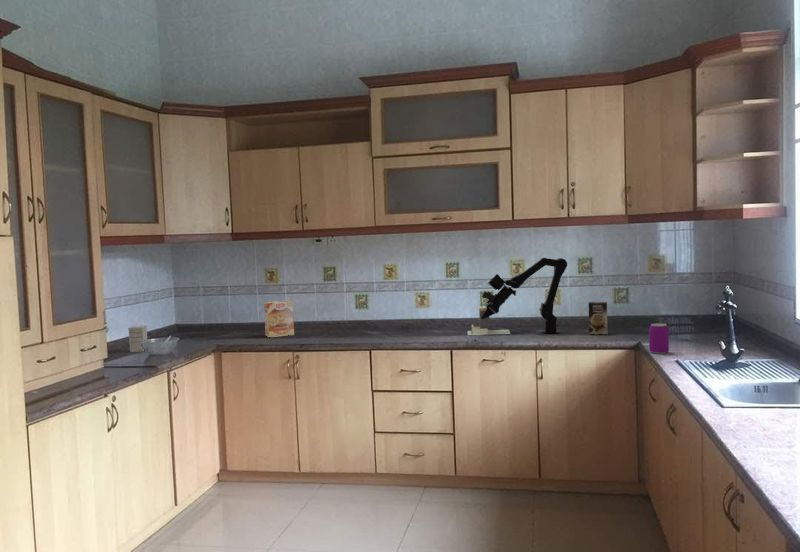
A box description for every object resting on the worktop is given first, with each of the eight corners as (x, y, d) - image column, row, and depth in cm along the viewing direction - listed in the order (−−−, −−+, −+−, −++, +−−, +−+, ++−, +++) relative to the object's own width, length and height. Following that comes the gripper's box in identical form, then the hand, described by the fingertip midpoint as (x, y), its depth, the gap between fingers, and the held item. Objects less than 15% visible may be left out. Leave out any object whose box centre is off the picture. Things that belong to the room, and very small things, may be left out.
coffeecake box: (269, 337, 384) (267, 302, 382) (265, 336, 390) (263, 302, 389) (294, 335, 391) (293, 300, 390) (290, 333, 397) (288, 299, 396)
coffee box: (588, 335, 347) (588, 303, 346) (589, 333, 353) (588, 301, 352) (607, 335, 345) (606, 302, 344) (607, 333, 351) (607, 301, 350)
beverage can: (645, 351, 296) (645, 324, 295) (661, 350, 298) (661, 322, 297) (656, 354, 288) (655, 326, 288) (672, 353, 290) (672, 324, 289)
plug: (489, 328, 364) (488, 307, 363) (489, 329, 360) (489, 308, 359) (479, 328, 365) (479, 307, 364) (480, 329, 360) (479, 308, 359)
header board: (508, 332, 368) (508, 322, 368) (510, 336, 354) (510, 326, 354) (467, 333, 370) (467, 323, 370) (467, 337, 356) (467, 327, 356)
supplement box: (134, 349, 361) (132, 325, 360) (148, 349, 362) (146, 325, 361) (129, 352, 354) (127, 327, 353) (144, 351, 354) (142, 326, 353)
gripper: (490, 284, 370) (470, 305, 371) (491, 287, 351) (470, 309, 353) (505, 298, 369) (485, 319, 371) (507, 302, 351) (486, 324, 353)
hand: (481, 318), depth 362 cm, fingers closed on plug, 4 cm apart
